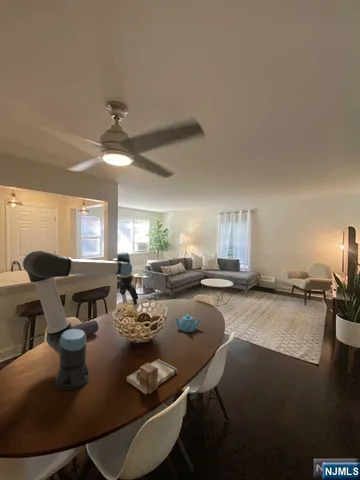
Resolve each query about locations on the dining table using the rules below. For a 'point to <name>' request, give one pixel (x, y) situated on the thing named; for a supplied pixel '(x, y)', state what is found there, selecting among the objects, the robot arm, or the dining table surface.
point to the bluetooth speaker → (87, 327)
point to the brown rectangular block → (148, 377)
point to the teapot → (187, 323)
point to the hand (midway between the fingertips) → (130, 306)
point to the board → (163, 374)
